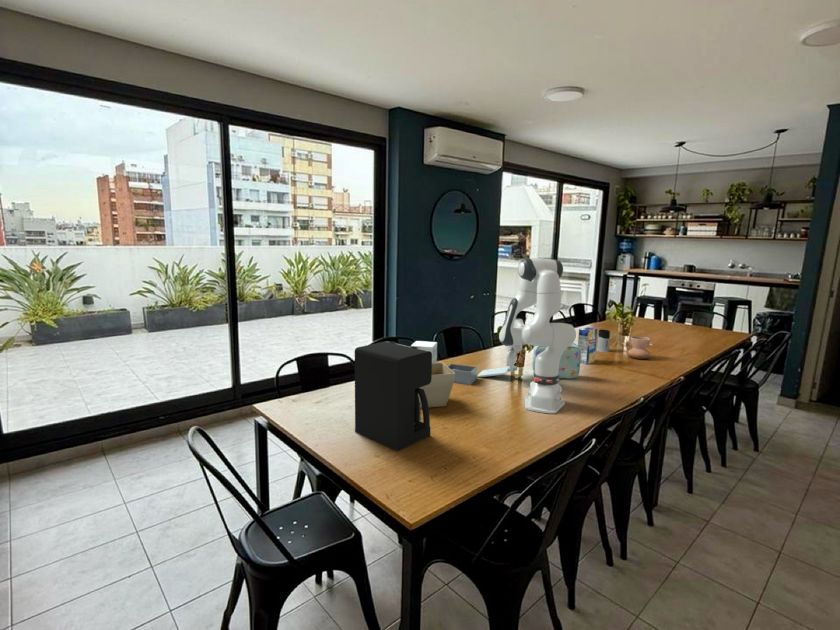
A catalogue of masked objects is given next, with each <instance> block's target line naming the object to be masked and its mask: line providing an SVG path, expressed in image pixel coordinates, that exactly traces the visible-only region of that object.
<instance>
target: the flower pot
mask: <svg viewBox="0 0 840 630" xmlns="http://www.w3.org/2000/svg"><path fill="white" fill-rule="evenodd" d="M447 366H448V365H446V364H445V363H444V362H437V363H432V379H431V383H430V384H428V385H426V386H423V387H420V388H421V389H424V392H425V394H426V398H427V401H428V407H429V408H437V407H438V408H440V407H445V406H447V403H448V401H449V399H450V396H451V393H452V390H453V385H454V377H455V373H454V372H453V371H452V370H451V369H450V368H448V367H447ZM418 396H419V394H418ZM419 402H420V403H421V400H420V396H419ZM421 409H422V404H421Z"/></svg>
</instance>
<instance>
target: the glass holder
mask: <svg viewBox="0 0 840 630" xmlns="http://www.w3.org/2000/svg"><path fill="white" fill-rule="evenodd" d="M610 334H611V331H610V330H608V329H599V330H598V333H597V343H596V351H595V352H600V353H609V352H610V348H611V347H613V346H615V344H616V343H617V341H618V338H616V340H615V342H614V343H613V344H612V345H610V340H612V338H613V336H616V337H618V335H617V334H616V333H613V334H611V335H610Z"/></svg>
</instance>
